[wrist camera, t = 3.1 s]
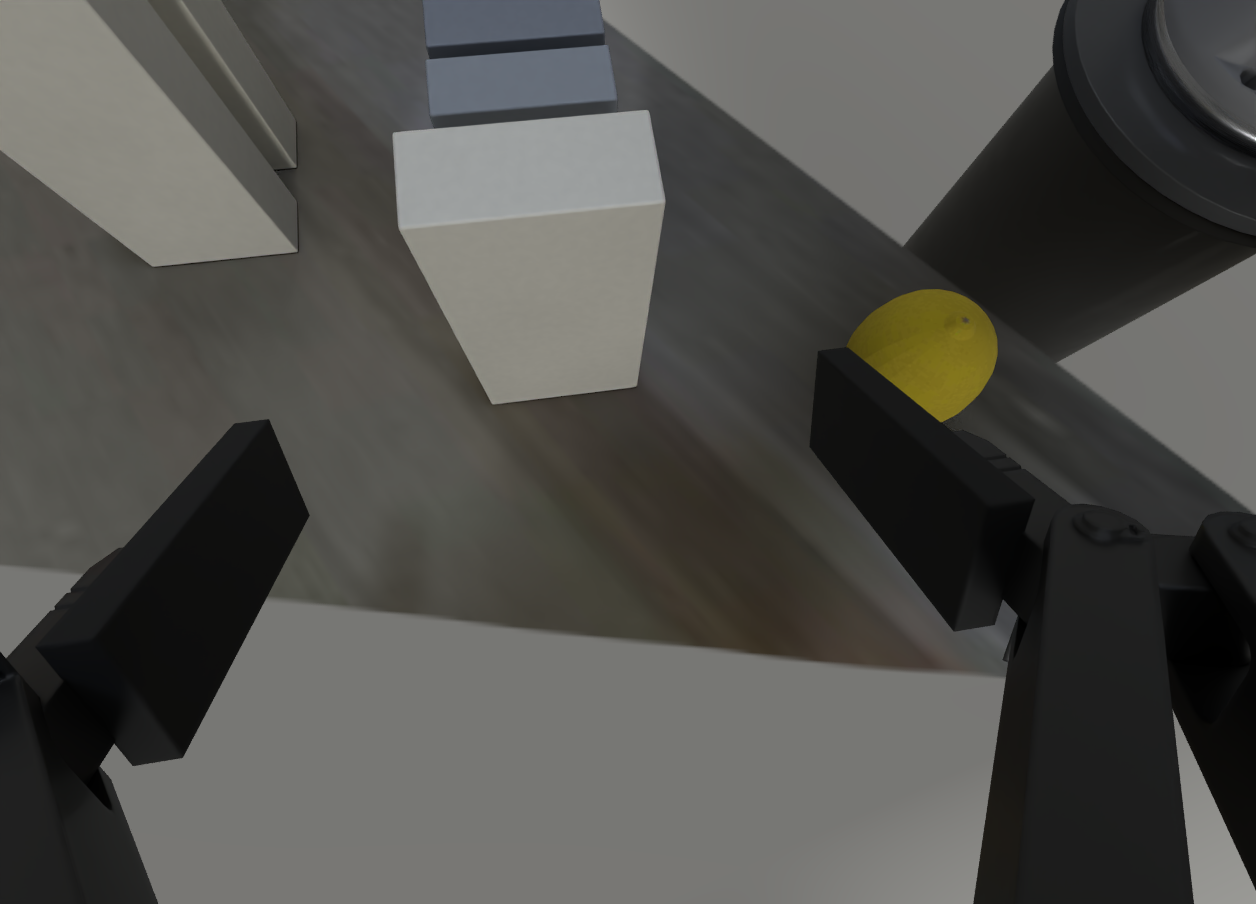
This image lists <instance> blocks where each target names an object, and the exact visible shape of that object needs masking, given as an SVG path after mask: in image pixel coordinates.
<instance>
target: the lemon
mask: <svg viewBox="0 0 1256 904" xmlns="http://www.w3.org/2000/svg"><path fill="white" fill-rule="evenodd" d="M846 347H848V348H849V349H851V350H852V351H853V352H854V353H856V354H857V355H858V356H859V357H861V358H862V359H863V360H864V361H865V362H867V363H868V364H869V365H870V366H872V367H873V368H874V369H875V370H877V371H878V372H879V373H880V374H882V375H883V376H884V377H885V378H887V379H888V380H889V381H890V382H891V383H893V384H894V385H895V386H896V387H898V388H899V389H900V390H901V391H903V392H904V393H905V394H906V395H908V396H909V397H910V398H911V399H912V400H914V401H915V402H916V403H917V404H919V405H920V406H921V407H922V408H924V409H925V410H926V411H927V412H929V413H930V414H931V415H932V416H933V417H935V418H936V419H937V420H938V421H940V422H943V421H945V420H947V419H949V418H951V417H953V416H955V415H956V414H958V413H959V412H960V411H962V410H963V409H964V408H965V407H966V406H967V405H968V404H969V403H971V402H972V401H973V400H974V399H975V398H976V397H977V396H978V395H979V394H980V392H981V391H982V390H983V388H984V386H985V385H986V383H987V381H988V380H989V378H990V376H991V375H992V373H993V370H994V367H995V363H996V359H997V353H998V348H997V336H996V333H995V330H994V327H993V325H992V323H991V321H990V320H989V318H988V316H987V314H986V313H985V312H984V311H983V310H982V309H981V308H980V307H979V306H978V305H977V304H976V303H974V302H973V301H971V300H970V299H968V298H967V297H965V296H962V295H960V294H957V293H955V292H951V291H946V290H941V289H928V290H918V291H914V292H911V293H908V294H905V295H902V296H899V297H897V298H895V299H893V300H891V301H889V302H888V303H886V304H884V305H883V306H881V307H880V308H878V309H876V310H875V311H874V312H872V313H871V314H870V315H869V316H868V317H867V318H866V319H865V320H864V321H863V322H862V323H861V324H860V325H859V327H858V328H857V329H856V330H855V331H854V333H853V334H852V336H851V338H850V340H849V342H848V344H847V346H846Z"/></svg>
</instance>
